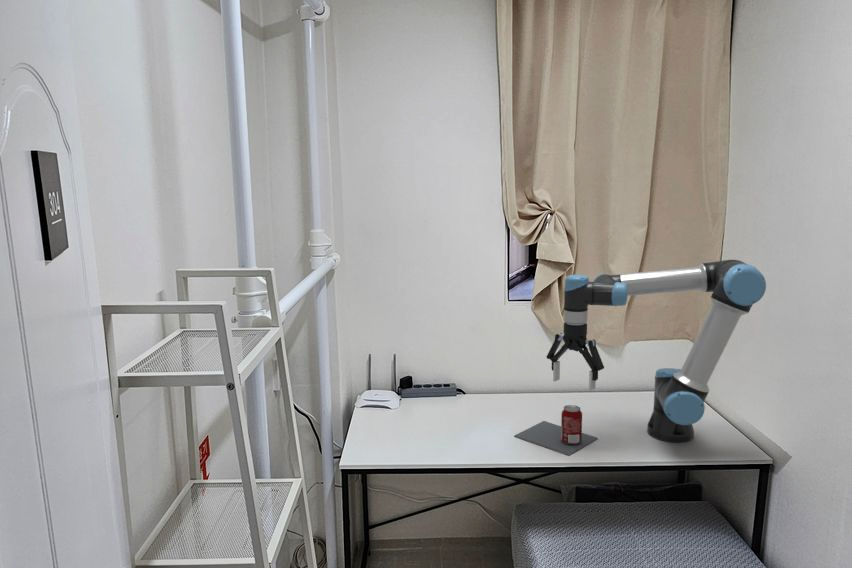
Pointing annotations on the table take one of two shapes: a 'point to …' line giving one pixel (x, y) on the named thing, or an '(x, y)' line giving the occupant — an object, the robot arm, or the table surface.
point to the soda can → (571, 425)
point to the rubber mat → (552, 438)
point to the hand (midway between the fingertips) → (573, 384)
